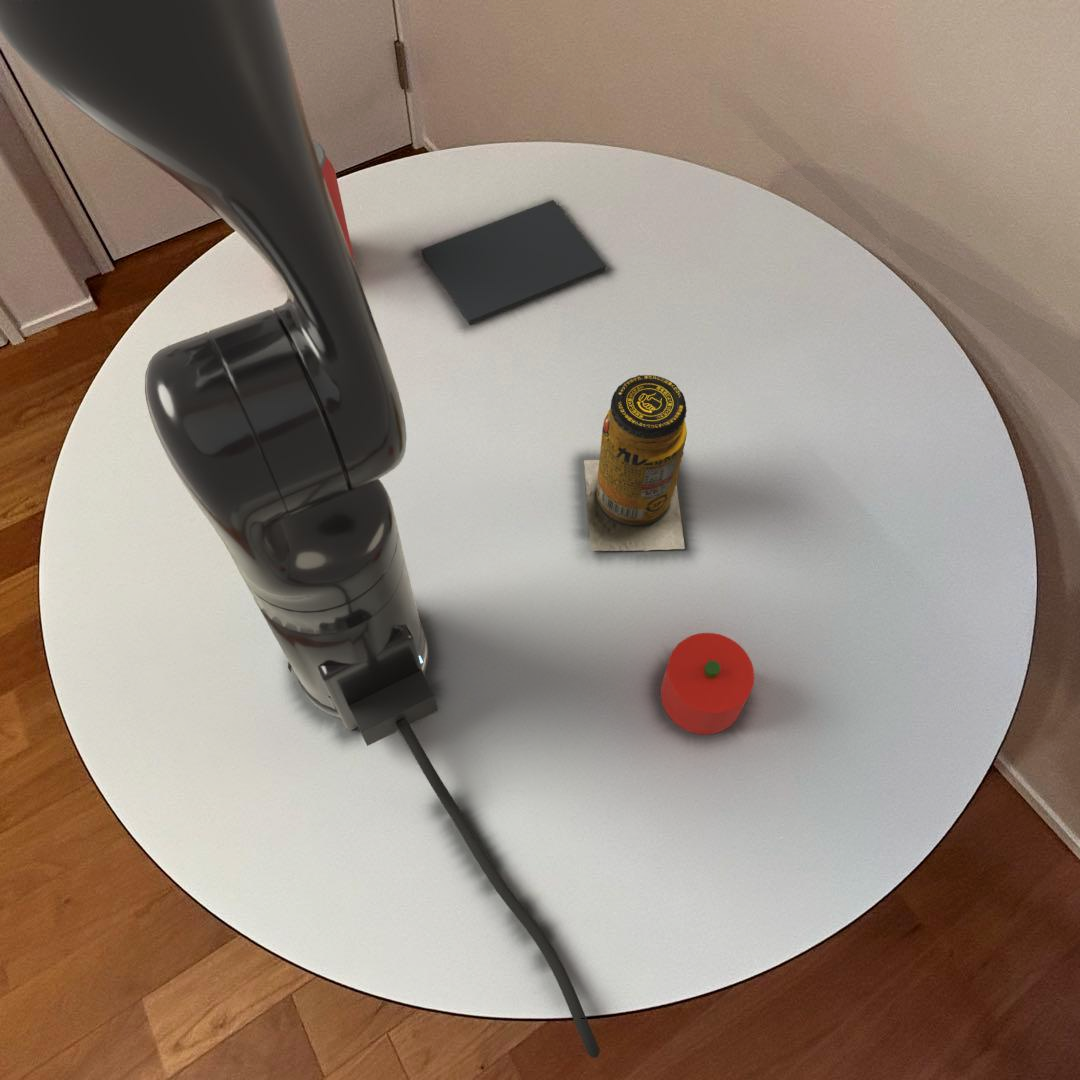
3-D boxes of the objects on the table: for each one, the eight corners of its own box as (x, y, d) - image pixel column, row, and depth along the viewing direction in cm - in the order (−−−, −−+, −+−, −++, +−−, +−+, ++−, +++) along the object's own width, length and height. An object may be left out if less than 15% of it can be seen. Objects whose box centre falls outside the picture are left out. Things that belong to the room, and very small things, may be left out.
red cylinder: (758, 711, 69) (774, 683, 64) (689, 749, 68) (700, 723, 63) (713, 644, 71) (724, 613, 67) (645, 680, 70) (652, 651, 66)
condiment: (673, 459, 80) (693, 362, 69) (684, 550, 75) (708, 461, 65) (583, 462, 80) (590, 365, 69) (590, 552, 75) (598, 464, 65)
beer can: (369, 258, 91) (347, 149, 80) (324, 303, 88) (296, 196, 78) (313, 231, 93) (285, 121, 82) (268, 274, 90) (233, 165, 79)
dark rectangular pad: (605, 270, 90) (605, 265, 90) (469, 325, 87) (468, 320, 86) (553, 204, 95) (553, 199, 94) (421, 253, 91) (420, 249, 91)
